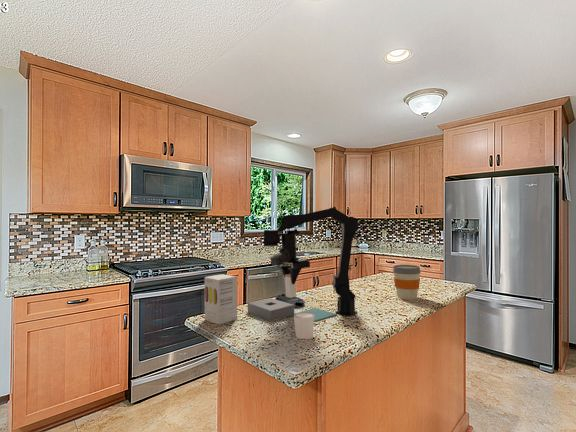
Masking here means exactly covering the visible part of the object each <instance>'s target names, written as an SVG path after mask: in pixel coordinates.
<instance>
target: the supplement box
mask: <svg viewBox="0 0 576 432" xmlns="http://www.w3.org/2000/svg"><path fill="white" fill-rule="evenodd" d="M237 319H238V276H234V275H228V274H223V273H222V274H214V275H210V276H205V277H204V321H207V322H210V323H213V324H216V325H222V324H225V323H226V324H227V323H228V322H231V321H235V320H237Z"/></svg>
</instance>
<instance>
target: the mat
mask: <svg viewBox="0 0 576 432" xmlns="http://www.w3.org/2000/svg"><path fill="white" fill-rule="evenodd" d="M301 312H307V313H312V314H314V323H317V322H319V321H323V320H325V319H328V318H329V319H330V318H333V317H335V316H337V313H336V312H335V313H334V312H330V311H327V310H324V309H320V308H317V307H314V308H310V309H307V310H302V311H299V312H294V314H296V313H301Z"/></svg>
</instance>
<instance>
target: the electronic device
mask: <svg viewBox="0 0 576 432" xmlns="http://www.w3.org/2000/svg"><path fill="white" fill-rule="evenodd" d="M274 299H276V300H279V301H283V302H286V303H289V304H293V305H294V308H301V307H303V306H304V305H305V303H306V302H305V299H303V298H300V297H298V296H296V297H292V298H290V297H286V293H281V294H279V295H276V296H275V298H274ZM300 304H301V305H300Z"/></svg>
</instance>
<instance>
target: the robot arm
mask: <svg viewBox="0 0 576 432" xmlns="http://www.w3.org/2000/svg"><path fill="white" fill-rule="evenodd" d="M329 218H331V219H333V220H334V221H335V222H337V223H338V224H340V226H341V231H340V232H341V236H342V238H341V239H342V240H341V246H340V255H339V262H338V269H337V273H336V274H333V275H332V282H331V286H332V288H333V290H334V291H335V293H336V294H337V295H338V296H339V297H338V296H337V305H336V306H337V310H336V311H335V314H337V315H338V314H339V315H342V316H345V317H349V316H353V315H356V314H358V311H356V305H355V303H356V300H355V299H356V294H354V292H353V291H352V290H351V289H350V287H351V286H350V278H349V276H350V275H349V271H350V270H349V269H350V262H351V255H352V254H351V253H352V249H353V248H352V247H353V240H354V237H355V235H356V233H357V230H358V227H359V221H358V220H357V218H356V217H354V216H348V215H346V213H344V212H341V211H340V210H338V209H337V208H335V207H329V208H325V209H321V210H316V211H313V212H308V213H307V212H306V213H302V214H286V215H283V217H282V218H281V220H280V225H279V227H277V229H270V230H269V229H264V230H263V239H262V240H263V247H278V246H279V245H280V244H281V248H279V252H278V253H276V254H274V255H273V256H272V255H271V257H270V259H269V260H270V265H271V266H277V269H279V270H281V272H282V274H283V277H284V278H285V274H291V281H292V284H295V282H297V279H298V277H299V275H300V273H301V270H303V269H305V268H306V269H307V268H310V267H311V262H310V260H309V259H300V258H299V257H297V251H299V247H297V240H296V239H297V237H296V236H297V235H300V234H301V232H300V231H299V230H298V229H297V228H296V227H299V226H301V225H303V224H305V223H310V222H316V221H320V220H324V219H329ZM293 228H294V229H293ZM291 229H292V230H291ZM285 230H287V231H286V232H284V231H285ZM282 232H283V233H282Z"/></svg>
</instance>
